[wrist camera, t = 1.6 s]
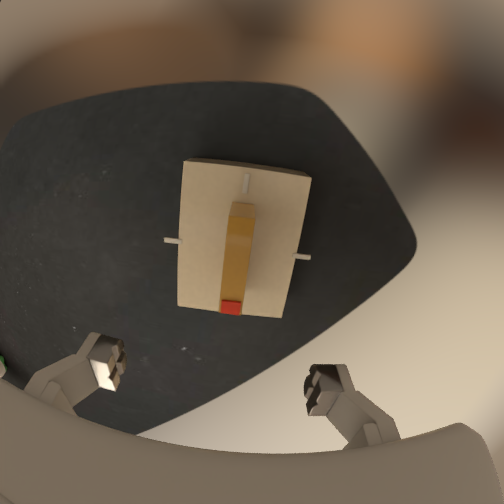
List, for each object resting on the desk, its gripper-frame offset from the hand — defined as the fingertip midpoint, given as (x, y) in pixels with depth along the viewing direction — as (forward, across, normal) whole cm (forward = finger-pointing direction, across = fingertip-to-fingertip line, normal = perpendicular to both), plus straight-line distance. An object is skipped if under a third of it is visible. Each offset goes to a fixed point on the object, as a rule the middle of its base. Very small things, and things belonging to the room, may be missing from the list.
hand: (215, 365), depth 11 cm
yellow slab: (+11, 0, -1) cm, 11 cm away
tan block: (+15, 0, -1) cm, 15 cm away
